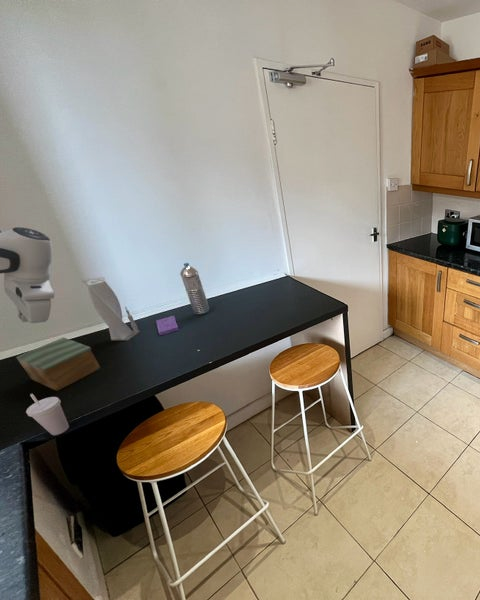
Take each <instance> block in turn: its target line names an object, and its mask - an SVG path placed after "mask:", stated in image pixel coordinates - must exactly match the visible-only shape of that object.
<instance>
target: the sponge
mask: <svg viewBox="0 0 480 600" xmlns="http://www.w3.org/2000/svg"><path fill="white" fill-rule="evenodd" d="M155 322H156V327H157V331H158V334H159V336H163V335H167V334H170V333H173V332H177V331H179V329H180V328H179V326H178V323H177V320H176V317H175V315H171V316H168V317H164V318H161V319H156V320H155Z"/></svg>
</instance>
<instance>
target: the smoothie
mask: <svg viewBox="0 0 480 600" xmlns="http://www.w3.org/2000/svg"><path fill="white" fill-rule="evenodd" d="M29 396H30V397H31V399H32V400H33V401H34V403H32V404H31V405H29V407H27V408H26V411H25V413H26V414H27V417H31V418H32V419H34V421H36V422H37V423H38V424H39V425H40V426H42V428H43V429H45V430H46V431H47V432H48V433H49V434H50V435H52V436H58V435H60V434H64V433H65V432H66V431H67V430H68V429H69V428H70V425H69V422H68V420H67V417H66V415H65V412H64V410H63V408H62V405H61V403H62V402H61V399H60V398H59V397H57V396H50V397H45V398H42V399H40V400H38V399H37V397H36V396H35V395H34V394H33V393H30V394H29Z"/></svg>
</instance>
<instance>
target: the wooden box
mask: <svg viewBox="0 0 480 600" xmlns="http://www.w3.org/2000/svg"><path fill="white" fill-rule="evenodd" d="M17 361H18V362H19V363H20V365H21V366H22V369H24V371H25V372H26V373H27V375H28V377H29V378H30V380H32V381H34V382H36V383H39V384H40V385H42V386H44V387H48V388H50V389H51V390H54V391H56V392H59V391H60V390H62V389H63V388H65V387H68V386H69V385H71V384H73V383H75V382H77V381H79V380H81V379H83V378H85V377H87V376H88V375H90V374H93V373H94V372H97V371H99V370H100V369H101V368H102V367H101V366H100V364H99V361H98V360H97V359H96V357H95V355H94V353H93V351H92V348H91V349H90V350H88V351H86V352H84V353H81V354H79V355H77V356H75V357H73V358H71V359H68V360H66V361H64V362H62V363H60V364H58V365H56V366H53V367H51V368H49V369H47V370H45V371H44V370H42V369H39V368H37V367H35V366H32V365H30V364H28V363H26V362H23V361H21V360H19V359H17Z"/></svg>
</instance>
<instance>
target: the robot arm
mask: <svg viewBox="0 0 480 600" xmlns="http://www.w3.org/2000/svg"><path fill="white" fill-rule="evenodd" d="M52 261H53V243H52V240H51V239H50V238H49V236H48V235H46V234H45V233H42V232H40V231H38V230H35V229H32V228H28V227H21V226H19V227H16V226H15V227H12V228H11V229H8V230H5V231H2V230H0V274H4V275H3V286H4V293H5V294H6V296H8V297H9V299H10V300H11V301H12V303H13V304H14V305H15V307H16V309H17V312H18V315H17V317H18V319H20V321H21V322H22V323H29V324H39V323H45V322H47V321H48V320H49V318H50V313H51V308H52V299H54V298H55V292H54V291H55V290H54V289H53V287H52V284H51V271H50V266H51V265H52Z"/></svg>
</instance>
